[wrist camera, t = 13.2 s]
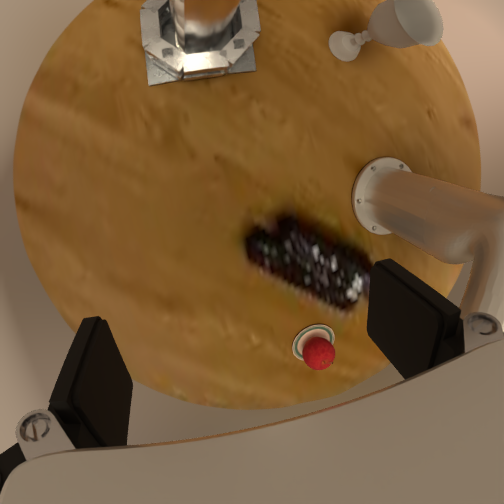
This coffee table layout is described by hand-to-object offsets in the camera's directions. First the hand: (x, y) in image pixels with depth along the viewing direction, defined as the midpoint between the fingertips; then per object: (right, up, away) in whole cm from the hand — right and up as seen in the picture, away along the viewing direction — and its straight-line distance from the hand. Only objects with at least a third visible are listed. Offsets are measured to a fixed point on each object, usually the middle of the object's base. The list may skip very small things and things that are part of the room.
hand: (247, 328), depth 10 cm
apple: (+11, -13, +45) cm, 49 cm away
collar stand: (-7, +31, +24) cm, 40 cm away
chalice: (+14, +33, +28) cm, 45 cm away
